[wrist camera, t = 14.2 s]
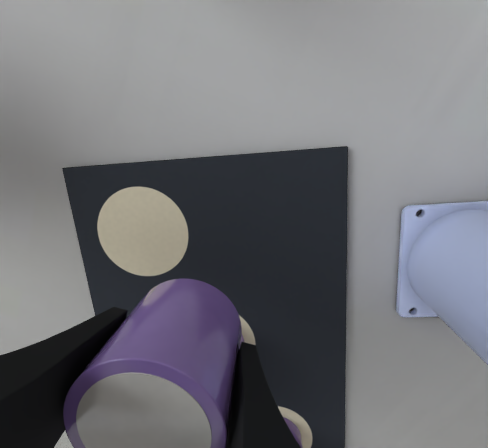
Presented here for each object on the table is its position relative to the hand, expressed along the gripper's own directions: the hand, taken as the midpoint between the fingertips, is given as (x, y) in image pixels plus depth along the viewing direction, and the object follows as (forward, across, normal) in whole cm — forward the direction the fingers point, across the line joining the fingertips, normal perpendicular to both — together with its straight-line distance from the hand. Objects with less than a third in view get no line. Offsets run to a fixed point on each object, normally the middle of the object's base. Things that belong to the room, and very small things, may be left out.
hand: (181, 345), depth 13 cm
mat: (+9, -2, +6) cm, 11 cm away
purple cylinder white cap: (+1, 0, 0) cm, 1 cm away
